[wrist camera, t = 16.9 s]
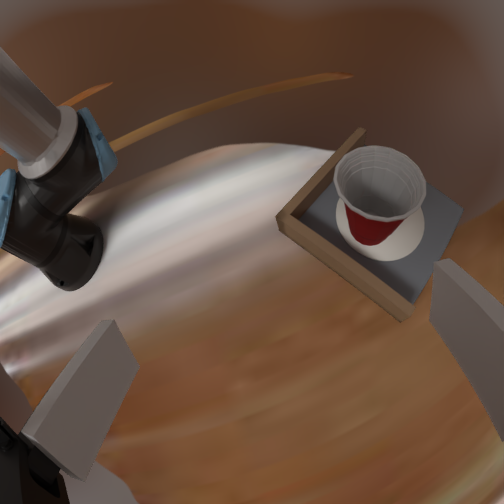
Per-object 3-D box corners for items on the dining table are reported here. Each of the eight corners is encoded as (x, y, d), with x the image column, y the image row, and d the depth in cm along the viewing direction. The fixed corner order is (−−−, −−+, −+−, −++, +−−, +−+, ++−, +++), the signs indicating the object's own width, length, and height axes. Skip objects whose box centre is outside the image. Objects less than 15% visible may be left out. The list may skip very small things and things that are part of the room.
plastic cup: (363, 183, 42) (371, 128, 31) (415, 228, 37) (442, 180, 26) (315, 226, 41) (312, 175, 30) (369, 278, 36) (390, 241, 25)
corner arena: (279, 230, 43) (275, 216, 39) (357, 144, 46) (359, 126, 42) (400, 322, 34) (410, 316, 30) (462, 211, 37) (472, 197, 33)
